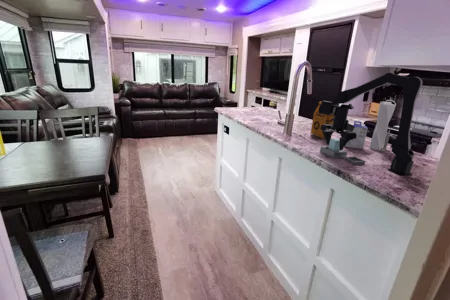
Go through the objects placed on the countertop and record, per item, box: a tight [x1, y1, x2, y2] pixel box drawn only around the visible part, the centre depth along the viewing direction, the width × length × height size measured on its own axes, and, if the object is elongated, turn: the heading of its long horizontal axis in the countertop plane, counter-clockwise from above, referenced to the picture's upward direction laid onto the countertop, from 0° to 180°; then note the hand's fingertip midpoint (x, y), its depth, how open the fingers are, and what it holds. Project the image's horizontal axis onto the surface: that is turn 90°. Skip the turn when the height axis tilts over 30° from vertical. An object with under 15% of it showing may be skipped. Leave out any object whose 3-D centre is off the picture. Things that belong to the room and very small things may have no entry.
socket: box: [319, 145, 348, 159], centre depth 120 cm, size 10×8×3 cm
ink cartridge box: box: [344, 120, 369, 150], centre depth 133 cm, size 10×6×14 cm, turn 72°
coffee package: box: [310, 100, 335, 139], centre depth 149 cm, size 10×12×22 cm
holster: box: [343, 155, 366, 166], centre depth 111 cm, size 6×6×2 cm
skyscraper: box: [369, 99, 397, 152], centre depth 128 cm, size 8×8×28 cm
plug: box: [328, 138, 340, 151], centre depth 119 cm, size 4×4×8 cm
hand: (334, 147), depth 119 cm, fingers open, 9 cm apart
